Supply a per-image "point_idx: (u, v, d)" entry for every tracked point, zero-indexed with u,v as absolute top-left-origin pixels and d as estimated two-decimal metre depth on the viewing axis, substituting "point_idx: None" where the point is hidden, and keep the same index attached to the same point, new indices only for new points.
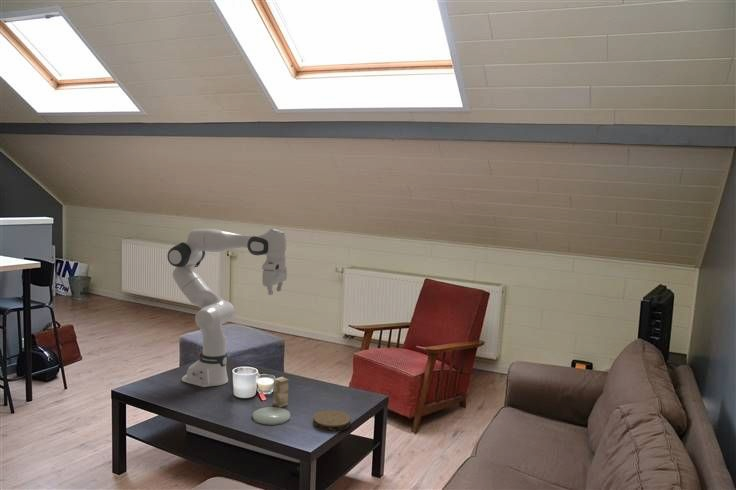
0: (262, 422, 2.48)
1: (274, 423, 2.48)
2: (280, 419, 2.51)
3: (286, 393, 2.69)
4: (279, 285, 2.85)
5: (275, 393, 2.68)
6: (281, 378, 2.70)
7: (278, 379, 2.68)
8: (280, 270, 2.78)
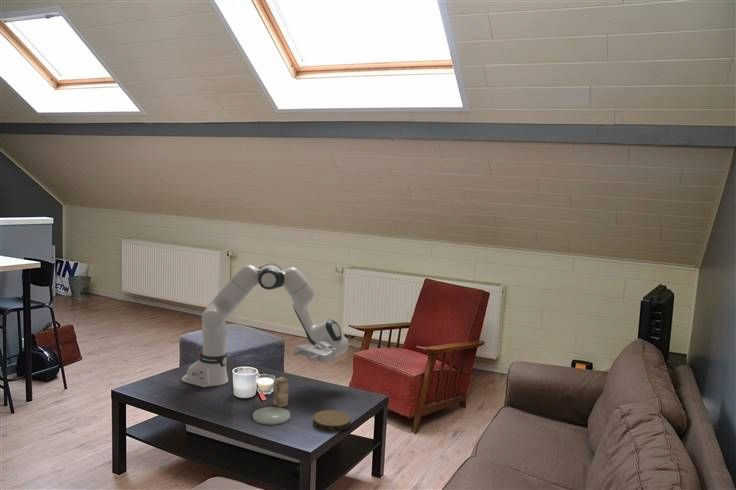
0: (262, 422, 2.48)
1: (274, 423, 2.48)
2: (280, 419, 2.51)
3: (286, 393, 2.69)
4: (298, 352, 2.82)
5: (275, 393, 2.68)
6: (281, 378, 2.70)
7: (278, 379, 2.68)
8: None
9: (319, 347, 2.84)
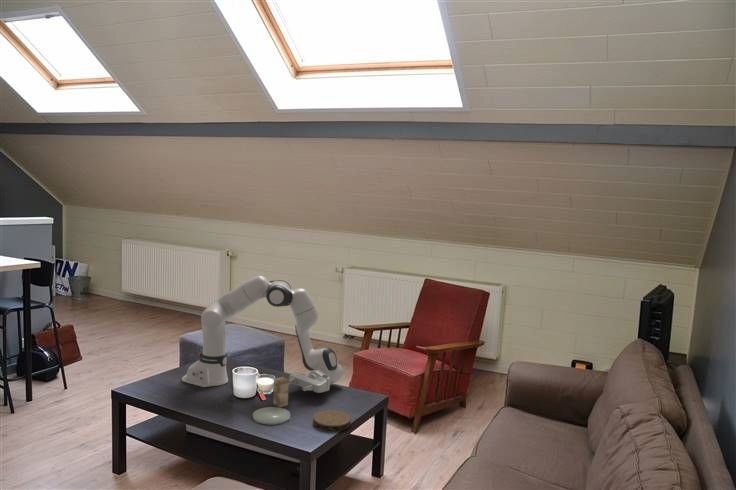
0: (262, 422, 2.48)
1: (274, 423, 2.48)
2: (280, 419, 2.51)
3: (286, 393, 2.69)
4: None
5: (275, 393, 2.68)
6: (281, 378, 2.70)
7: (278, 379, 2.68)
8: None
9: (313, 376, 2.84)
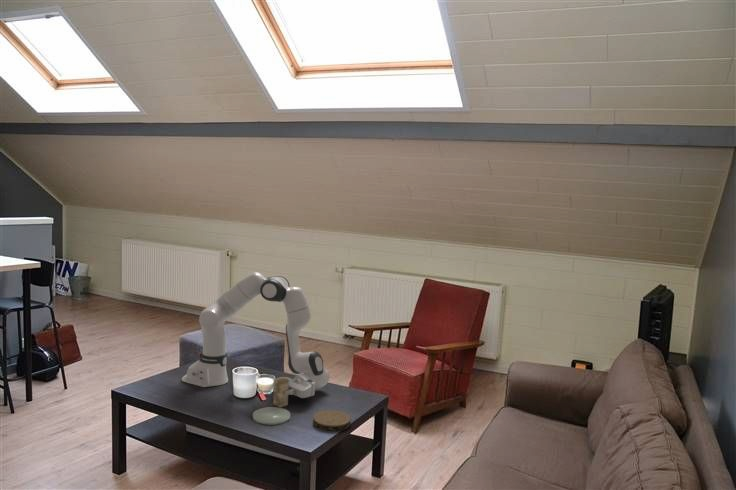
0: (262, 422, 2.48)
1: (274, 423, 2.48)
2: (280, 419, 2.51)
3: None
4: None
5: (275, 393, 2.68)
6: (281, 378, 2.70)
7: (278, 379, 2.68)
8: None
9: (298, 381, 2.76)
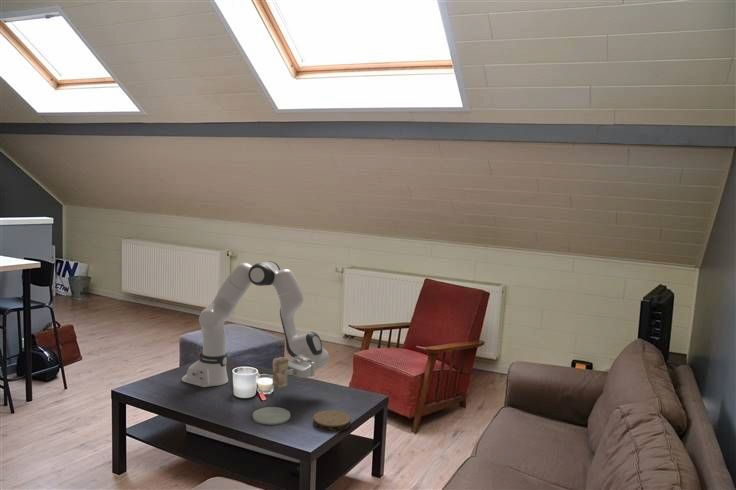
0: (262, 422, 2.48)
1: (274, 423, 2.48)
2: (280, 419, 2.51)
3: None
4: None
5: (274, 373, 2.64)
6: (280, 358, 2.65)
7: (277, 359, 2.64)
8: None
9: (297, 361, 2.71)
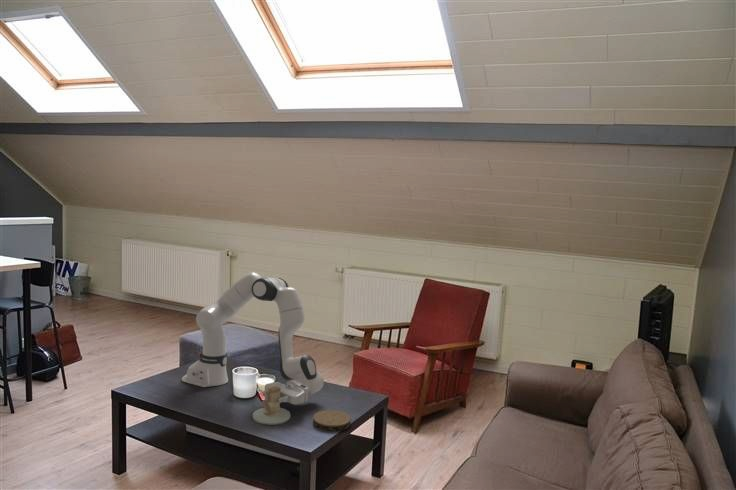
0: (262, 422, 2.48)
1: (274, 423, 2.48)
2: (280, 419, 2.51)
3: (277, 402, 2.55)
4: None
5: (266, 402, 2.54)
6: (272, 386, 2.56)
7: (269, 387, 2.54)
8: None
9: (290, 386, 2.61)
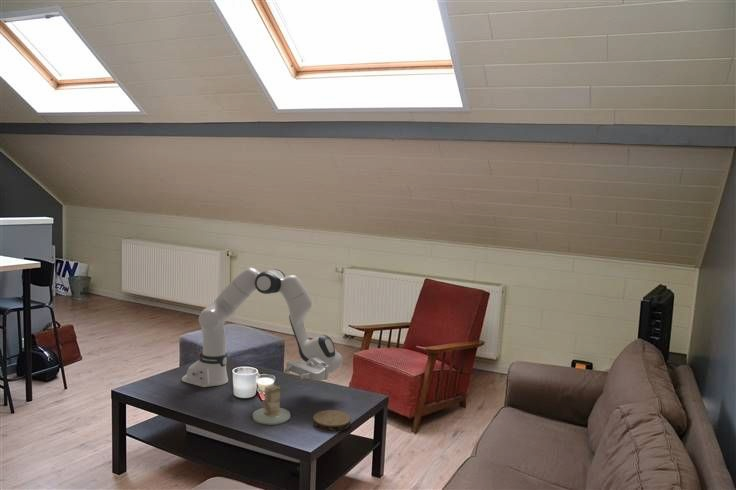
0: (262, 422, 2.48)
1: (274, 423, 2.48)
2: (280, 419, 2.51)
3: (277, 402, 2.55)
4: None
5: (266, 402, 2.54)
6: (272, 386, 2.56)
7: (269, 387, 2.54)
8: None
9: (311, 364, 2.70)
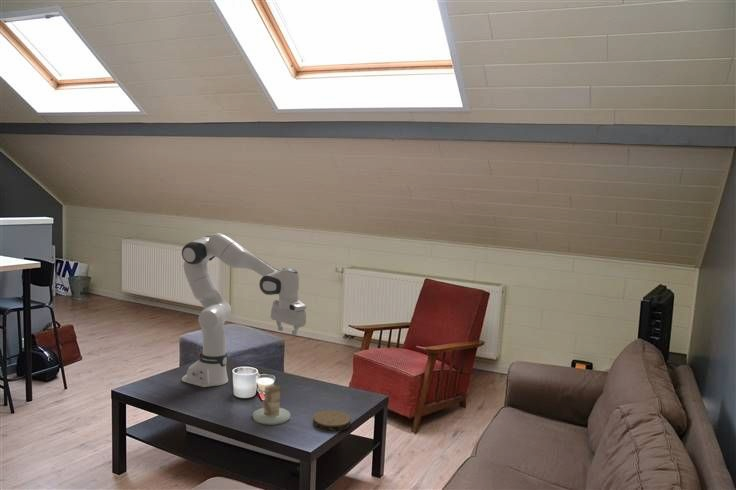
0: (262, 422, 2.48)
1: (274, 423, 2.48)
2: (280, 419, 2.51)
3: (277, 402, 2.55)
4: (279, 324, 2.78)
5: (266, 402, 2.54)
6: (272, 386, 2.56)
7: (269, 387, 2.54)
8: None
9: (285, 311, 2.72)
